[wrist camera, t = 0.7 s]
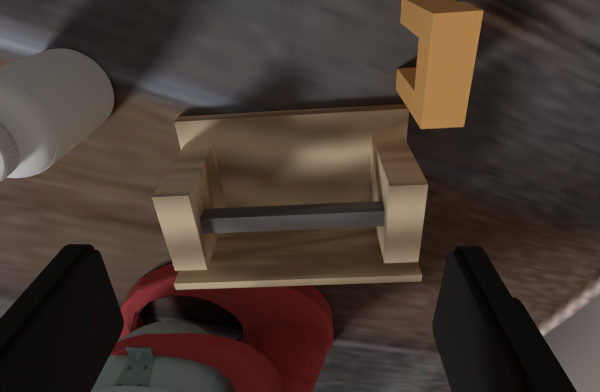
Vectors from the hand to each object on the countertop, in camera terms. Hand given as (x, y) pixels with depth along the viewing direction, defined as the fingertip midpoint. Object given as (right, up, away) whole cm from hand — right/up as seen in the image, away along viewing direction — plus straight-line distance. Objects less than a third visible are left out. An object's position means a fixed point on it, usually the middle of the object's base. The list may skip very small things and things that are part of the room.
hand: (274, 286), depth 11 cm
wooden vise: (0, +6, +32) cm, 33 cm away
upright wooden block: (+11, +16, +25) cm, 32 cm away
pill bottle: (-21, +13, +28) cm, 38 cm away
